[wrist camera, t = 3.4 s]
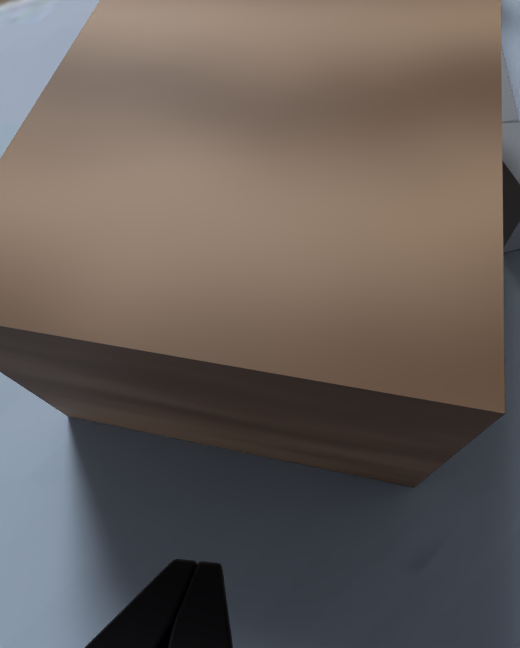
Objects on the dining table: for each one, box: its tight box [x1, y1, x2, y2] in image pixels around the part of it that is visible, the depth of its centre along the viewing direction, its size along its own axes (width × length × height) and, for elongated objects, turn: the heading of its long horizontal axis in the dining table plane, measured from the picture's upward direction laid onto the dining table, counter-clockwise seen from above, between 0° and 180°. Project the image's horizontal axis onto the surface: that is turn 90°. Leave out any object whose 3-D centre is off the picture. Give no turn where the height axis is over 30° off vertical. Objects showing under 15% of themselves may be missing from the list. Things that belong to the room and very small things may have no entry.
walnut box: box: [0, 0, 505, 488], centre depth 16 cm, size 14×12×8 cm
